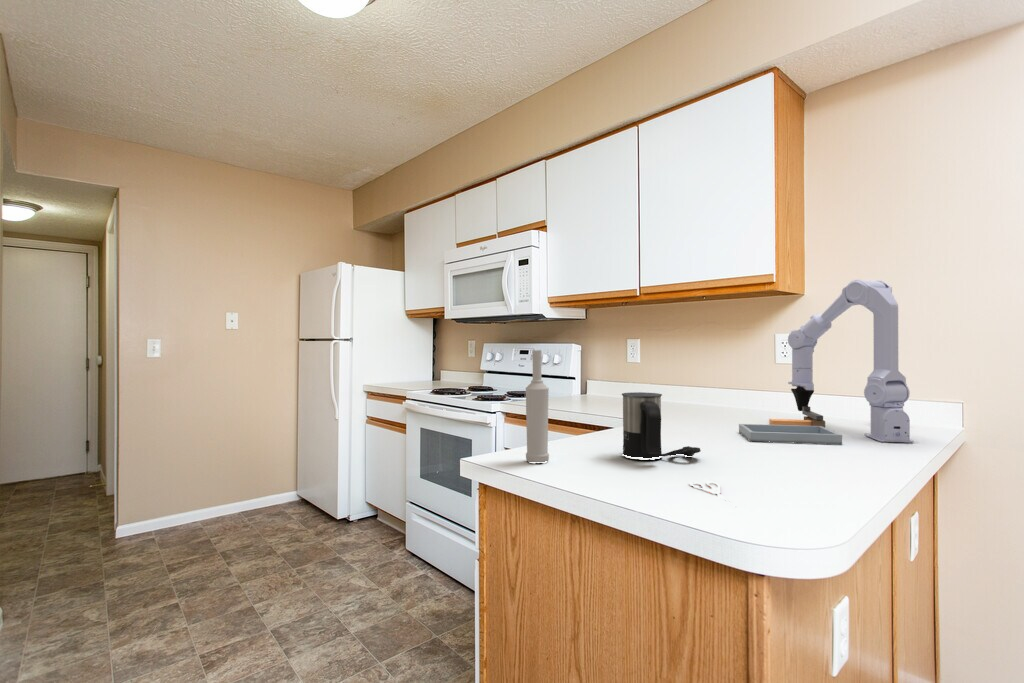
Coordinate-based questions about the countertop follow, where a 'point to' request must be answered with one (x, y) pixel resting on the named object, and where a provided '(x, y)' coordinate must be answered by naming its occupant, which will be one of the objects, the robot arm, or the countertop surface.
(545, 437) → the bottle
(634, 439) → the milk frother
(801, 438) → the parts tray
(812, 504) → the countertop surface
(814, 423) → the clamp posts
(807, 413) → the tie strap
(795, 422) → the orange-brown bar
